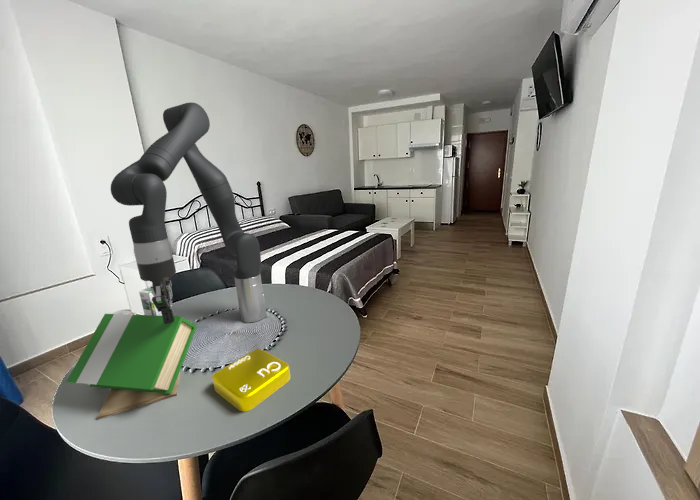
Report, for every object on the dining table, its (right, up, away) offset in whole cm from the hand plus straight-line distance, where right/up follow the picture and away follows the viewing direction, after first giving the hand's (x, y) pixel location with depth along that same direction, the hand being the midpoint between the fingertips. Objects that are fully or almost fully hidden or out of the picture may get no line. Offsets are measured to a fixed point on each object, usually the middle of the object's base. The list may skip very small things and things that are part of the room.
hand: (169, 321), depth 76 cm
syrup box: (-25, -10, +35) cm, 44 cm away
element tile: (+21, -17, +2) cm, 27 cm away
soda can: (-27, -14, +22) cm, 37 cm away
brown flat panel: (-7, -18, +1) cm, 19 cm away
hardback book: (+2, -8, 0) cm, 9 cm away
